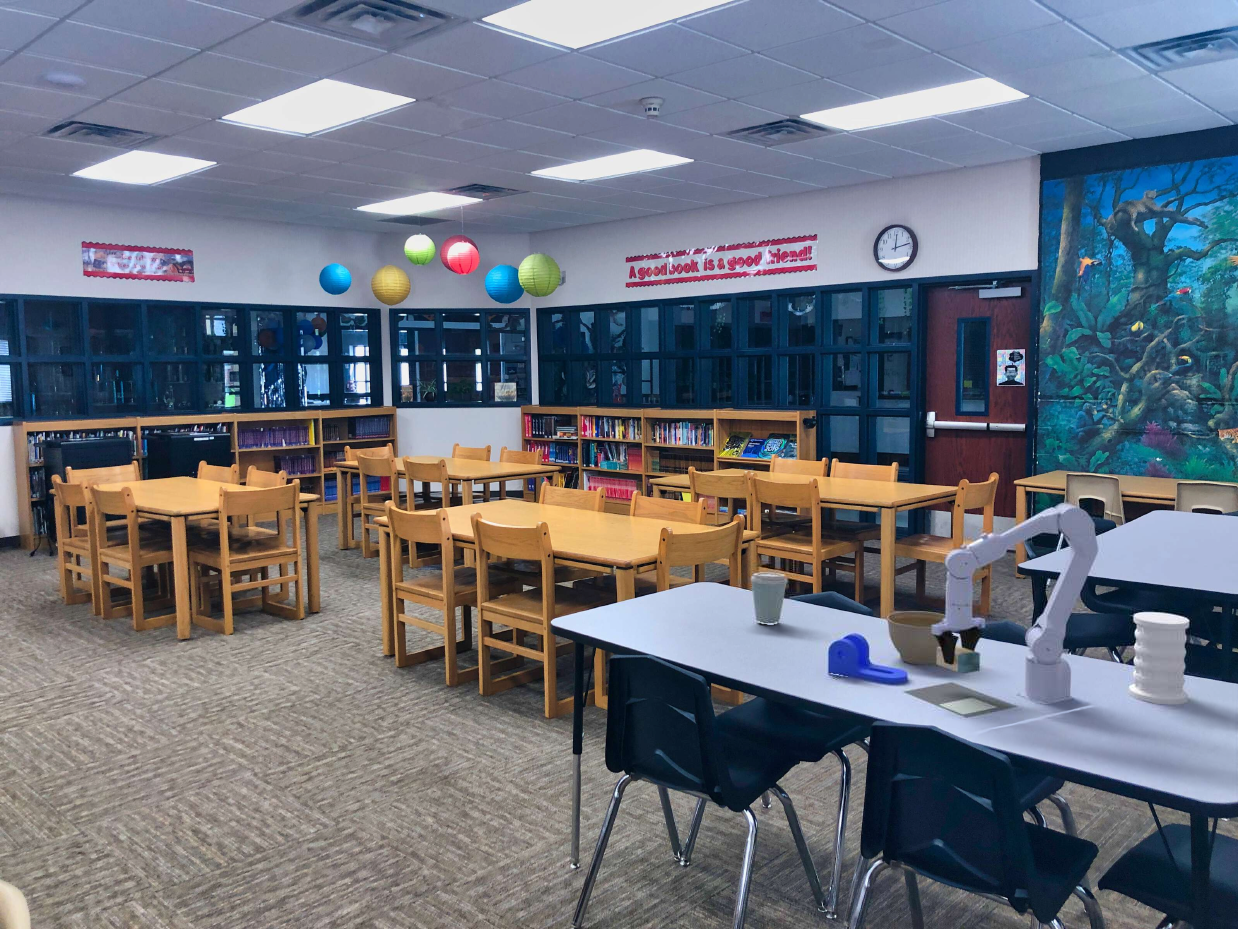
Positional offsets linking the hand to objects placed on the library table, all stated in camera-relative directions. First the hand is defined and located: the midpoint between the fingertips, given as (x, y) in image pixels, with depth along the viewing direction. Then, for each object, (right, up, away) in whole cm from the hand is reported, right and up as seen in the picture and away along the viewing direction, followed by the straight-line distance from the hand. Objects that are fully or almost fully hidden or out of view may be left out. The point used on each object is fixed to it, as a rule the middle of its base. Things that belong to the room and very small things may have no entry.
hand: (957, 661), depth 219 cm
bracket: (-17, -7, +14) cm, 22 cm away
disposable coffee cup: (-33, -2, +65) cm, 73 cm away
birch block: (0, -1, 0) cm, 1 cm away
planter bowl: (-1, -5, +27) cm, 27 cm away
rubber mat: (-1, -8, -4) cm, 9 cm away
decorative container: (+44, -7, -3) cm, 45 cm away
